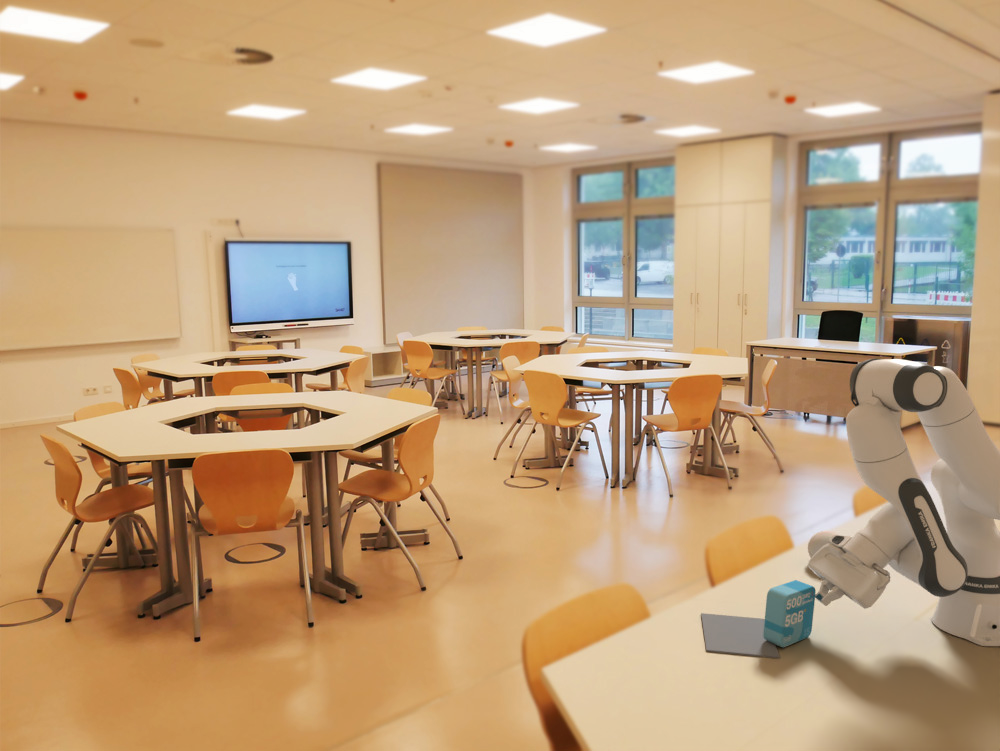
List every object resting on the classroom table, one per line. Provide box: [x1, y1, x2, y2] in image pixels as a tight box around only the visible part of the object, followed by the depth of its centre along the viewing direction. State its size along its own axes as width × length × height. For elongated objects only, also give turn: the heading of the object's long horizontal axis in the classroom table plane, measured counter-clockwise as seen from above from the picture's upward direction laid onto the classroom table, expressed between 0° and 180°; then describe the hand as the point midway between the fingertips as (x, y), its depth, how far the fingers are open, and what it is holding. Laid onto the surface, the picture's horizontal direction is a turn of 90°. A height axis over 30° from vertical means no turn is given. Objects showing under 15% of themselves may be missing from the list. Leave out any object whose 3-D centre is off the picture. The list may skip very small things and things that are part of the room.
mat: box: [700, 612, 781, 659], centre depth 173 cm, size 15×18×1 cm
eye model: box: [807, 530, 839, 559], centre depth 213 cm, size 10×10×10 cm
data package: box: [763, 579, 816, 648], centre depth 171 cm, size 12×4×12 cm, turn 127°
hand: (819, 601), depth 170 cm, fingers closed
